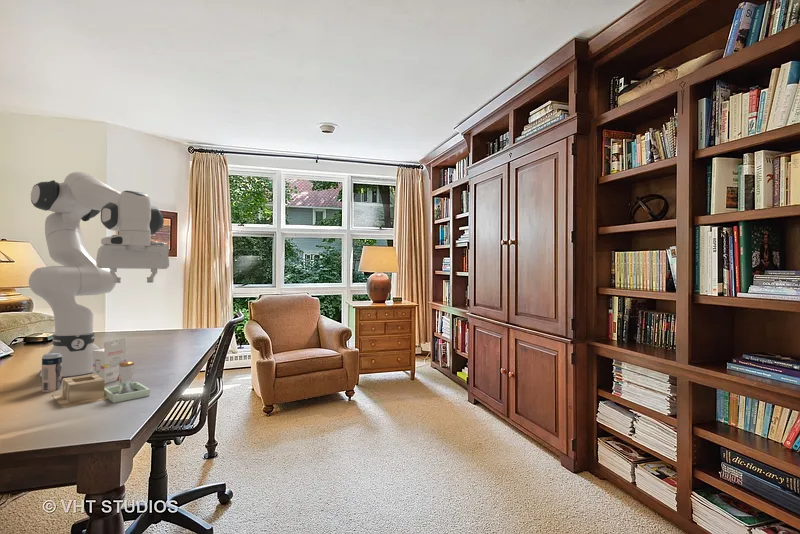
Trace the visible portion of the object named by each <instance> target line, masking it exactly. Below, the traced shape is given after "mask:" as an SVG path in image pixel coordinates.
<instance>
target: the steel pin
mask: <svg viewBox="0 0 800 534" xmlns="http://www.w3.org/2000/svg"><path fill="white" fill-rule="evenodd" d="M134 363H135V362H134V361H133V360H130V361H129V360H126V362H121V363H119V380H118V385H119V392H118V395H119V394H124V393H130V392H134V389H133V383H134V374H135V373H134V372H135V371H134V369H135V366H134V365H135V364H134Z"/></svg>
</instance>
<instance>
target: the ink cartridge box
mask: <svg viewBox="0 0 800 534" xmlns="http://www.w3.org/2000/svg"><path fill="white" fill-rule="evenodd" d="M115 343H116V344H115ZM113 344H114V345H113ZM103 346H104V347H103V348H99V349H98V350H93V372H92V374H97V375H98V376H100V377H101V378H103V379H104V380H105V385H106V384H108V383H112V382H115V381H119V363H121V362H126V361H127V347H126V338H124V337H122V338H116V339H112V340H108V341H106V340H105V341H104V342H103Z"/></svg>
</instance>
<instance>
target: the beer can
mask: <svg viewBox="0 0 800 534" xmlns="http://www.w3.org/2000/svg"><path fill="white" fill-rule="evenodd" d="M41 371H42V377H41V392H42V393H43V392H46V393H47V392H48V393H49V392H55V391H59V390H61V389H62V384H63V377H62V355H61V354H60V353H44V354H43V356H42V357H41Z"/></svg>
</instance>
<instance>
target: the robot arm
mask: <svg viewBox="0 0 800 534" xmlns="http://www.w3.org/2000/svg"><path fill="white" fill-rule="evenodd" d="M30 200H31V201H30V202H31V204H32V205H33V207H34V208H36V209H39V210H43V211H46V212H47V211H49V212H52V213H50V214H49V215H48V216H46V217H45V221H44V235H45V240H46V246H47V249H48V253H49V257H50V258H51V260H53V261H54V262H55V263H57V264H59V265H50V266H43V267H38V268H36V269H35V270H33V271H32V272H31V273H30V275H29V278H28V285H29V289H31V291H32V292H33V294H35V295H36V296H38V297H40V298H41V299H42V300H44V301H45V302H46V303H47V304H48V305H49V307H50V308H51V311H52V313H53V318H54V320H53V321H54V334H53V336H52V337H53V338H52V345H53V346H52V348H51V349H50V350H49V351H48V353H60V354H61V355H62V378H67V377H77V376H83V375H88V374H92V373H93V350H98V349H100V347H99V346H98V345H96V344H95V343H94V342H95V337H96V336H95V333H94V312H93V311H92V310H91V309H90V308H89V307H86V306H84V305H82V304H78V303H77V302H76V298H75V297H79V296H81V297H82V296H98V295H103V294H107V293H110V292H112V291H113V290H114V288H116V284H121V282H122V281H121V278H122V277H120V276H118V275H117V271H118V269H126V270H127V269H133V270H134V269H138V270H141V269H143V270H148V269H150V273H151V274H150V276H149V277H148V276H147V277H146V282H147V283H152V284H153V283H154V281H155V280H154V278H155V276H156V275H157V273H158V270H159V269H160V270H167V269H168V268H169V267H170V257H169V253H170V246H169V244H167V243H165V242H164V241H152V239H151V237H152V236H151V235H155V234H157V232H159V231H160V230H161V229H162V228H163V226H164V223H165V221H164V216H163V214H162V212H161V211H160V209H159V208H158V207H157V206H153V205H151V200H150V196H149V195H148V194H147V193H145V192H139V191H134V190H123V191H119V190H117V189H114V188H112V186H110V185H108V184H106V183H105V182H103V181H101V180H100V179H98V178H97V177H95V176H94V175H92V174H89V173H87V172H83V171H75V172H74V171H73V172H70V173H69V174H67V176H66V177H65V178H64V181H63V182H57V181H56V180H54V179H53V180H50V181H40V182H38V183H35V184H34V185H33V187H32V188H31V191H30ZM99 214H100V221H101V223H102V225H103V226H104V227H105V228H106V229H108V230H111V231H115V232H118V234H113V235H111V236H106V237H103V238H101V240H100V243H101V246H100V247H99V248H98V250H97V253H96V259H94V257H93V256H92V255H91V254H90V253H89V251H88V249H87V247H86V243H85V240H84V237H83V233H82V230H81V225H80V221H81V220H82V221H83V222H88V221H89V220H91V219H92V218H95V217H96V216H98V215H99ZM39 378H42V370H40V373H39Z"/></svg>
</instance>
